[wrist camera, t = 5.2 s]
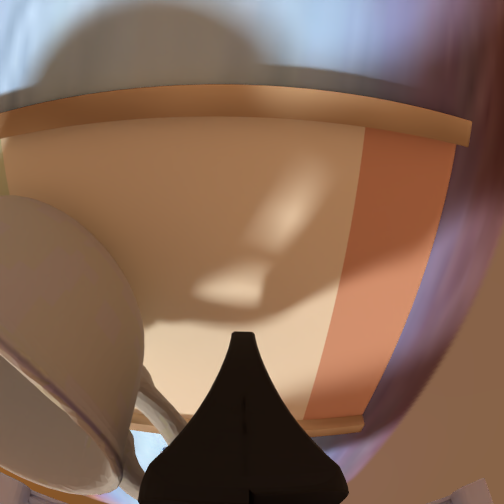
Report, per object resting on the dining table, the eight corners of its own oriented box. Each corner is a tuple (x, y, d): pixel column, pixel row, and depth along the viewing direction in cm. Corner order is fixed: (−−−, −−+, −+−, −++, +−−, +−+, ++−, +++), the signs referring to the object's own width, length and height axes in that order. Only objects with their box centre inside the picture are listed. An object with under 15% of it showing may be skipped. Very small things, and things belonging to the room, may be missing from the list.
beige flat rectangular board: (357, 420, 19) (360, 431, 18) (-40, 371, 18) (-45, 378, 17) (457, 117, 10) (472, 121, 9) (-122, 162, 9) (-132, 167, 8)
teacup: (-44, 261, 12) (-123, 358, 5) (29, 102, 9) (-153, 185, 2) (131, 407, 18) (107, 520, 11) (270, 336, 14) (281, 511, 7)
